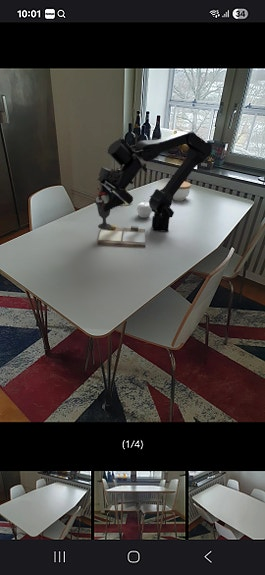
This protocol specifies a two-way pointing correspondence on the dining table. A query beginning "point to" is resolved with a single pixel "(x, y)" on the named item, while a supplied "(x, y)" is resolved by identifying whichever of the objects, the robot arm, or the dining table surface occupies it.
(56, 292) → the dining table surface
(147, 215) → the plain white apple
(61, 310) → the dining table surface
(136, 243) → the board
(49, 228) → the dining table surface
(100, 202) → the sundae
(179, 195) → the lidded jar
